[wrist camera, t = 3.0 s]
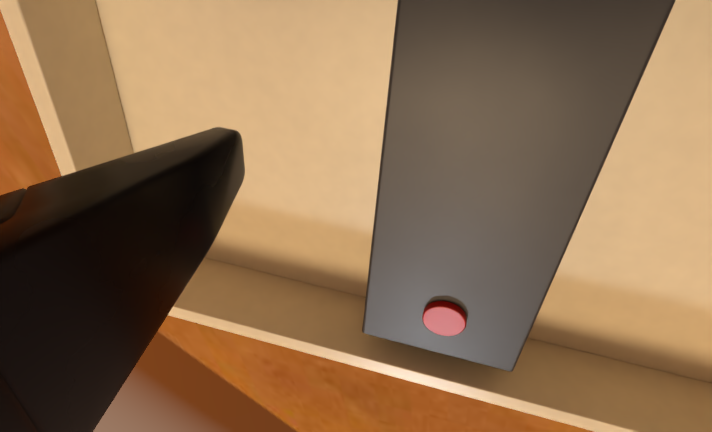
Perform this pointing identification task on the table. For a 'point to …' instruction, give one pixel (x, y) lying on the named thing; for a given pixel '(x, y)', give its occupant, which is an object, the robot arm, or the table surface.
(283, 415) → the table surface
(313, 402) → the table surface
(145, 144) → the tray
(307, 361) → the table surface
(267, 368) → the table surface
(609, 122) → the remote
